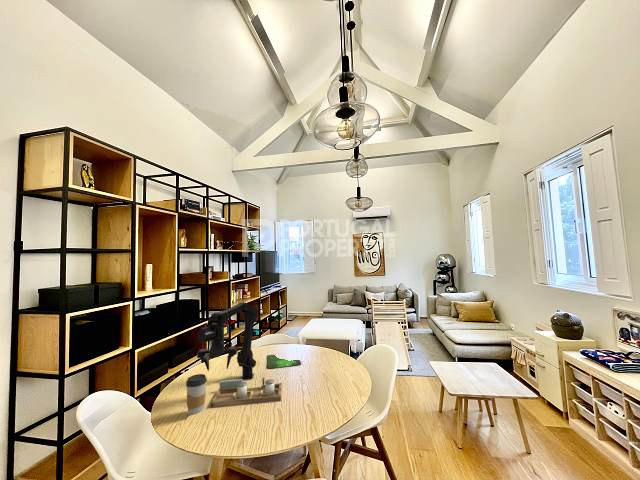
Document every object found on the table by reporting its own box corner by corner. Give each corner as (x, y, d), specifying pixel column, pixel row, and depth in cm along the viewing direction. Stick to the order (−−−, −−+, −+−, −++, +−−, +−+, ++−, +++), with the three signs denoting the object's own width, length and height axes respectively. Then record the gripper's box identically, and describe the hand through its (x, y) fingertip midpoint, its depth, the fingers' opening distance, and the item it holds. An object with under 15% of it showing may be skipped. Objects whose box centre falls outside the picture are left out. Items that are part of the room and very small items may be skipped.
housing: (220, 393, 132) (220, 381, 133) (281, 387, 136) (281, 376, 137) (211, 410, 116) (211, 397, 117) (280, 403, 120) (280, 390, 121)
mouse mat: (266, 355, 187) (266, 354, 187) (296, 352, 192) (296, 351, 192) (266, 370, 161) (266, 368, 161) (302, 366, 165) (302, 364, 166)
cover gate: (220, 389, 133) (220, 380, 134) (242, 387, 135) (242, 378, 135) (219, 391, 131) (219, 382, 131) (242, 389, 132) (242, 380, 133)
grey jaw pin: (265, 393, 127) (265, 379, 128) (274, 393, 128) (274, 378, 128) (264, 398, 123) (264, 383, 124) (274, 397, 123) (274, 382, 124)
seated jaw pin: (238, 396, 125) (238, 382, 126) (247, 395, 126) (247, 381, 127) (236, 401, 121) (236, 386, 122) (246, 400, 122) (246, 385, 122)
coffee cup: (210, 410, 116) (210, 375, 117) (193, 420, 109) (193, 383, 110) (198, 406, 120) (199, 372, 122) (181, 415, 113) (182, 379, 114)
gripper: (193, 343, 124) (193, 378, 122) (234, 340, 127) (234, 374, 125) (200, 337, 135) (200, 369, 133) (237, 334, 138) (237, 365, 136)
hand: (217, 369), depth 132 cm, fingers open, 9 cm apart
